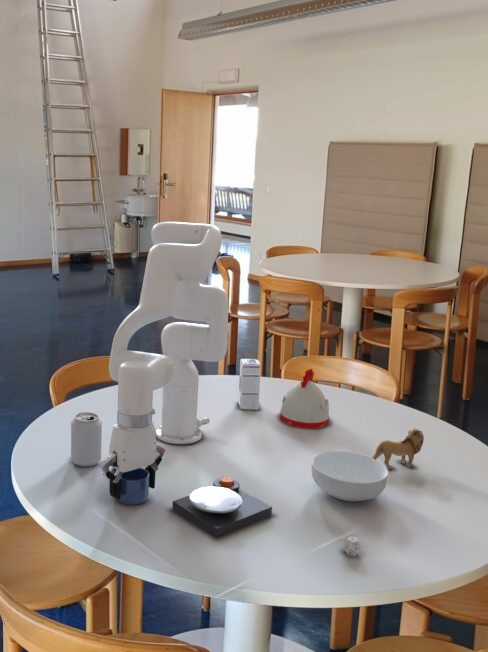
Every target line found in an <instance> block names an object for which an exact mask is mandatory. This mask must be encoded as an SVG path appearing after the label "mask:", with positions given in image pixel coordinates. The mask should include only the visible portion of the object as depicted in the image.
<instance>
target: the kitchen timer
mask: <svg viewBox="0 0 488 652" xmlns="http://www.w3.org/2000/svg"><path fill="white" fill-rule="evenodd" d="M314 374H315V372H314V369H313V368H309V369H307V370H305V372H304V375H303V376H302V380H301V381H298V382H296V383H295V384H294V385H292V387H291V388H290V389H289V390H288V391H287V392H286V394H285V395H283V399H282V402H281V403H282V404H281V408H280V412H279V414H280V415H279V418H280V420H281V421H282V422H283V423H284V424H287V425H289V426H292V427H296V428H301V429H321V428H324V427H326V426H328V425H329V421H330V406H329V402H330V401H329V398H326V397H325V395H324V393H323V391H322V389H321V388H320V387H319V386H318V385H317V384H316V383H315V382H314V381H313V380H314V376H315V375H314Z"/></svg>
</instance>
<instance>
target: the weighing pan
mask: <svg viewBox="0 0 488 652" xmlns="http://www.w3.org/2000/svg"><path fill="white" fill-rule="evenodd" d="M189 495H190V502H191V503H192V504H193V505H194V506H195V507H196V508H198V509H201V510H203V511H207V512H212V513H227V512H232V511H235V510H237V509H238V508H239V507H240V506H241V504H242V499H241V497H240V495H239V494H237V493H236V492H234V491H232V490H230V489H227V488H222V487H213V486H203V487H200V488H196V489H194V490H192V492H190V494H189Z"/></svg>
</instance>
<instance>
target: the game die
mask: <svg viewBox="0 0 488 652" xmlns="http://www.w3.org/2000/svg"><path fill="white" fill-rule="evenodd" d="M342 546H343V548H344V551H345V553H346V555H347V556H351V557H356V556H357V554H358V553H359V552H360V551H361V550H362V546H361V544H360V542H359V539H358V537H356V536H350V535H349V536H348V537H347V538H346V539H345V540H344V542H343V543H342Z"/></svg>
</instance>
